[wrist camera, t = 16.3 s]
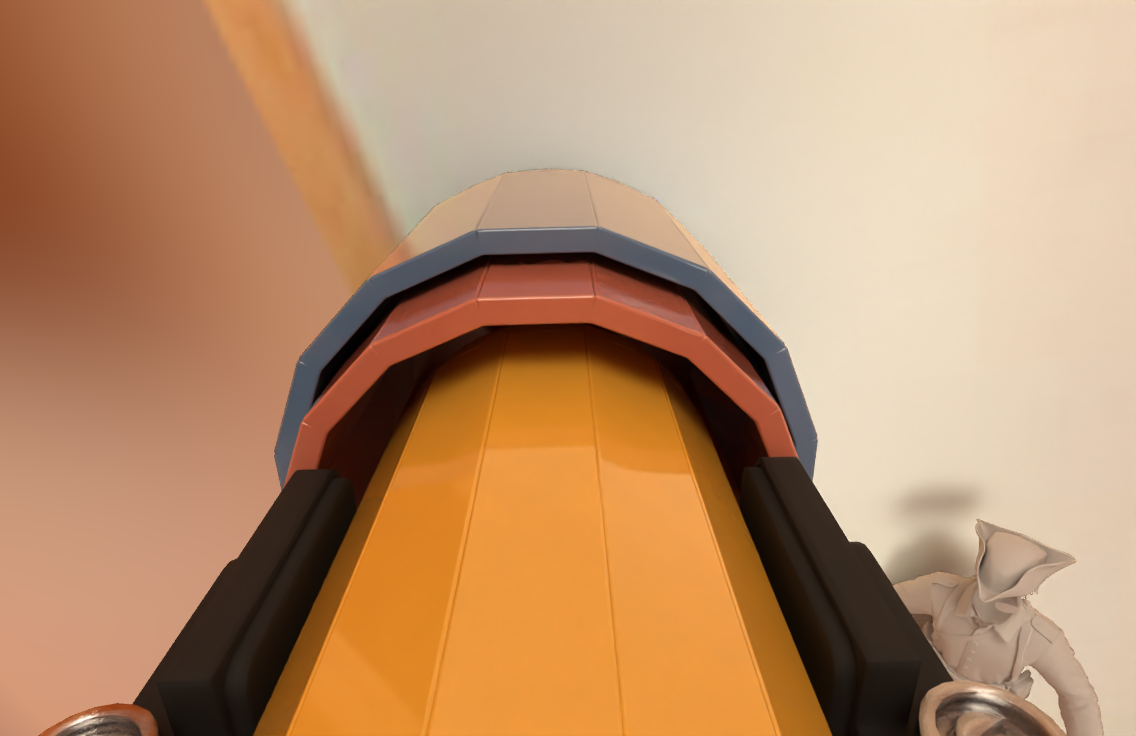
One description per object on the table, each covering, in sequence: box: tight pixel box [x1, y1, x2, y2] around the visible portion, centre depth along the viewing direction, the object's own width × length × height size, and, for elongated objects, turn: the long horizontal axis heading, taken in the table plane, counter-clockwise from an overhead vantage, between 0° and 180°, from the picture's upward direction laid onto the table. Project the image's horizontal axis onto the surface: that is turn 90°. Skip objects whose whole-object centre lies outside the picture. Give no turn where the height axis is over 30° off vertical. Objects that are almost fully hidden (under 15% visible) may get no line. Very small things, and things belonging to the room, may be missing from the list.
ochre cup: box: [253, 323, 833, 736], centre depth 8 cm, size 6×6×10 cm
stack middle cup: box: [284, 252, 799, 509], centre depth 15 cm, size 8×8×8 cm
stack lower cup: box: [274, 169, 818, 490], centre depth 15 cm, size 9×9×7 cm
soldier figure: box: [892, 519, 1104, 736], centre depth 21 cm, size 8×5×12 cm
